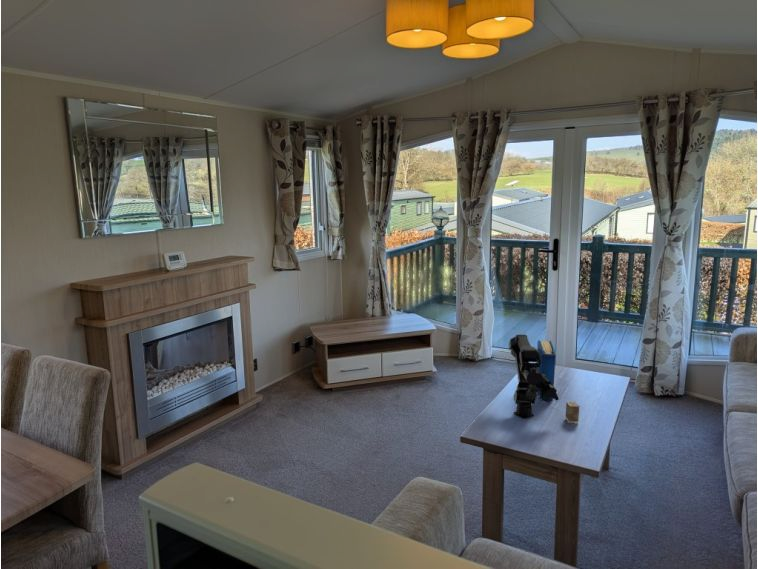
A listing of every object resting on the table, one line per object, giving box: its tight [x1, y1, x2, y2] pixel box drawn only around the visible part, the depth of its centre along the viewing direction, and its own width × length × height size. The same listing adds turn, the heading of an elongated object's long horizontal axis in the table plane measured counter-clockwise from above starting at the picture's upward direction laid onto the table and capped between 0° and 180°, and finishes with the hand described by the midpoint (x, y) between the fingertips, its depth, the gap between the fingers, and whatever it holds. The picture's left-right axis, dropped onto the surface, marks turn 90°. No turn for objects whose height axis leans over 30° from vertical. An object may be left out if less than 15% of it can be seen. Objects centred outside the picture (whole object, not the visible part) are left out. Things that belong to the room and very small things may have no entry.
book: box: [536, 340, 557, 402], centre depth 261 cm, size 22×7×25 cm, turn 168°
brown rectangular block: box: [564, 401, 580, 425], centre depth 231 cm, size 4×5×8 cm
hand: (557, 399), depth 230 cm, fingers closed
